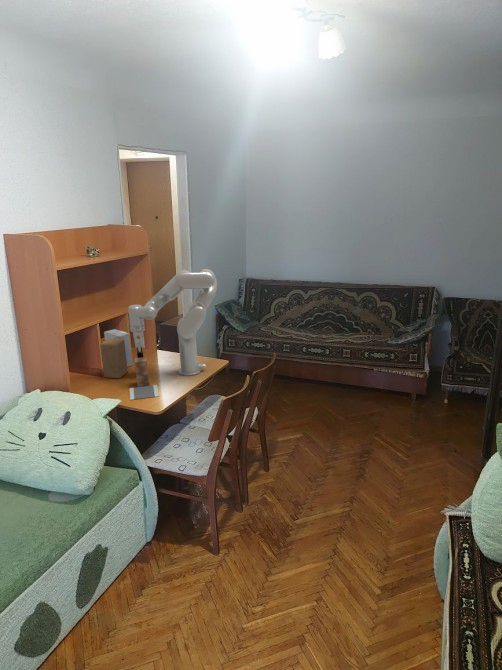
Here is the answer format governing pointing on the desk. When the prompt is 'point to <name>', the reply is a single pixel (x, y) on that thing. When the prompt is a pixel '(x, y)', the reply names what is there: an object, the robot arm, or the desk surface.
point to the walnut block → (141, 372)
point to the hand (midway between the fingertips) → (140, 359)
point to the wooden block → (114, 358)
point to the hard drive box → (123, 335)
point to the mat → (144, 392)
